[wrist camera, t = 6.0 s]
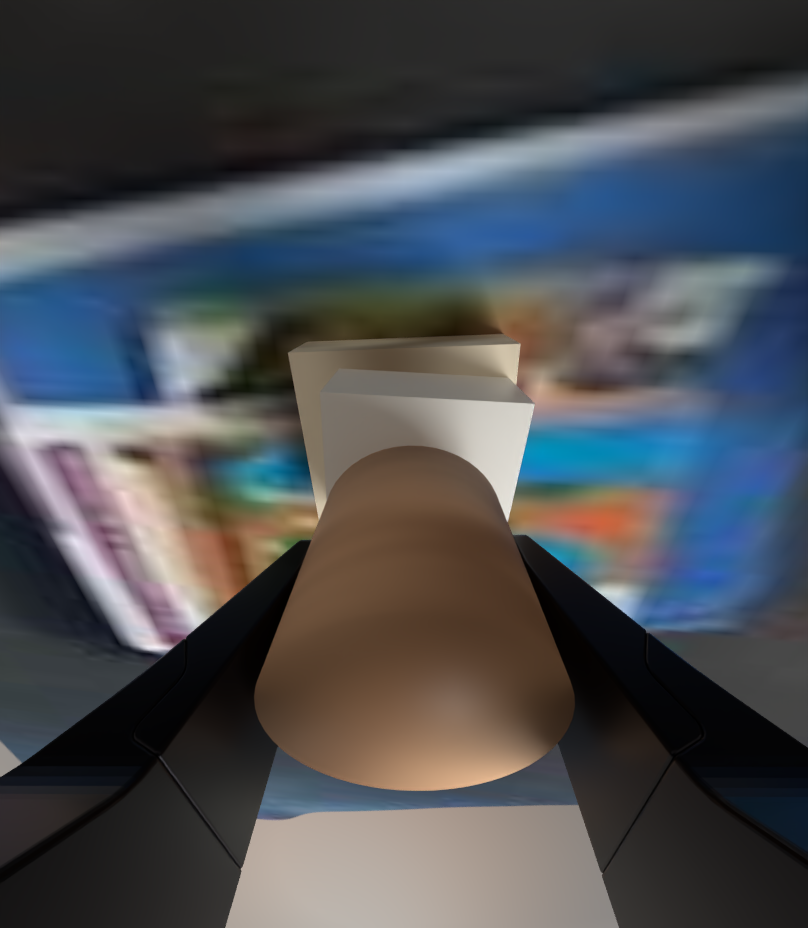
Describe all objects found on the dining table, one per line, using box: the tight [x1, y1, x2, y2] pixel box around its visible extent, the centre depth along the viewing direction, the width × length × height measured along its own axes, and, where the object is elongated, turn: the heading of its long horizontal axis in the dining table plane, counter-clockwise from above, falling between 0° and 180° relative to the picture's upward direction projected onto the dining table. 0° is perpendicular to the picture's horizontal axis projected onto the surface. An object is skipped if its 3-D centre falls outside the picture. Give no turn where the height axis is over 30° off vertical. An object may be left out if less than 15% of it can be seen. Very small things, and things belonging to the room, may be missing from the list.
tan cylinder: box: [254, 446, 575, 791], centre depth 8 cm, size 5×5×5 cm
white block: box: [320, 368, 535, 522], centre depth 12 cm, size 6×6×3 cm
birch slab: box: [288, 334, 520, 519], centre depth 15 cm, size 8×8×3 cm
